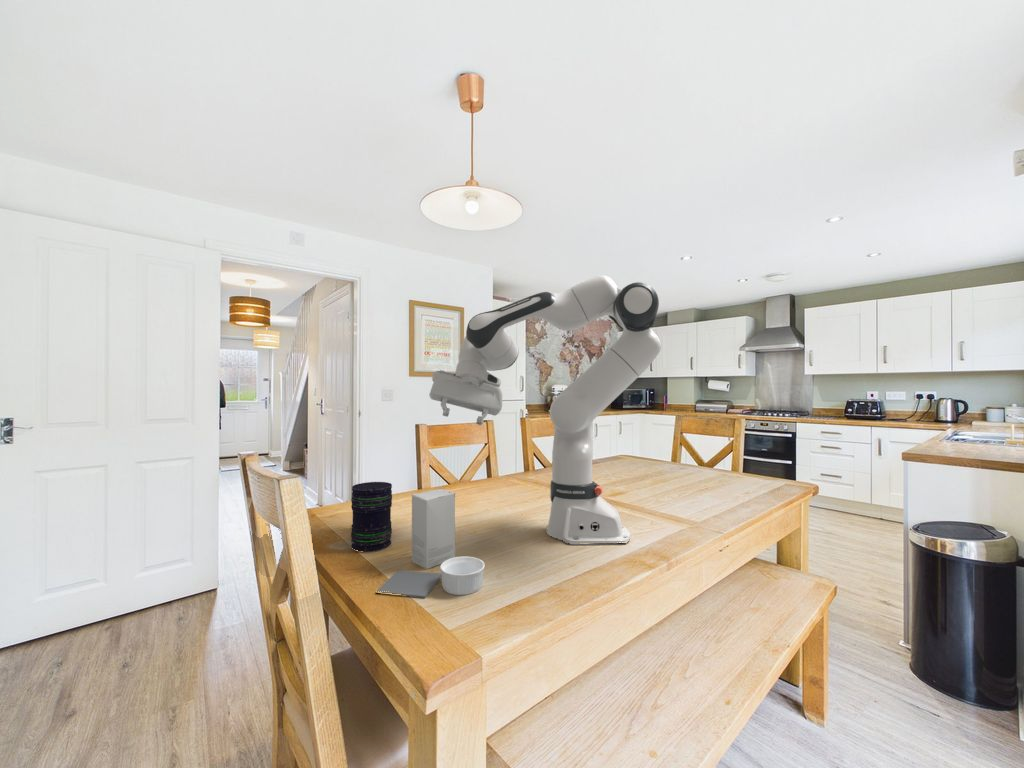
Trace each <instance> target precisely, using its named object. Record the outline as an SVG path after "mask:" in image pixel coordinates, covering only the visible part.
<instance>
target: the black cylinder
mask: <svg viewBox="0 0 1024 768" xmlns="http://www.w3.org/2000/svg"><path fill="white" fill-rule="evenodd" d="M392 488H393V485H392V483H391V482H385V481H369V482H361V483H356V484H354V485H352V486H351V491H352V492H351V499H350V500H351V507H350V508H351V510H352V524H351V531H350V538H351V539H350V540H351V541H350V542H351V545H350V548H351V547H352V548H353V549H355V550H358V551H363V552H362V553H372V552H373V551H374V552H378V550H379V551H382V549H383V550H385V549H387V548H389V547H390V546H391V545H392V539H391V538H392V533H393V528H392V520H391V519H392V518H391V516H392V515H391V513H392V511H391V509H392V507H393V506H392V504H393V502H392V500H393V494H392V493H393V491H392ZM352 548H351V549H352Z"/></svg>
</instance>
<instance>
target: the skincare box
mask: <svg viewBox="0 0 1024 768" xmlns="http://www.w3.org/2000/svg"><path fill="white" fill-rule="evenodd" d="M454 557H456V492H453V491H450V490H446V489H444V488H437V489H431V490H427V491H422V492H418V493H413V494H411V562H412V563H414V564H416V565H418V566H420V567H421V568H423V569H425V570H429V569H431V568H435V567H437V566H441V564H442V563H443V562H444V561H446V560H448V559H451V558H454Z"/></svg>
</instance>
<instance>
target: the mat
mask: <svg viewBox="0 0 1024 768" xmlns="http://www.w3.org/2000/svg"><path fill="white" fill-rule="evenodd" d="M441 579H442V575H441V572H425V571H415V570H414V571H412V570H401V569H399V570H396V572H395V573H393V574H392V575H391V576H390V577H389V578H388V579H387V580H386V581H385V582H384V583H383V584H382V585H381V586H380V587H379V588H378V589H377V590H376V591H377V592H378V591H379V592H380V591H381V592H382V591H383V592H382V593H392V594H401V595H406V596H410V597H409V598H419V599H426V598H427V596H428V595H429V594H430V592H431V591H432V590H433V589H434V587H435V586H436V585H437V583H438V582H439V581H440V580H441ZM384 591H385V592H384ZM386 591H387V592H386ZM388 591H389V592H388Z"/></svg>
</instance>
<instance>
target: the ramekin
mask: <svg viewBox="0 0 1024 768" xmlns="http://www.w3.org/2000/svg"><path fill="white" fill-rule="evenodd" d="M485 565H486V564H485V562H484V560H482V559H480V558H478V557H474V556H467V555H465V556H455V557H454V558H451V559H448V560H446V561H444V562H443V563H442V564H440V565H439V571H440V573H441V575H442V577H441V585H442V588H443V590H444V591H445V592H446V593H447V594H450V595H454V596H467V595H470V594H474V593H476V592H478V591H479V590H480V589H481V588H482V586H483V582H484V571H485V568H486V567H485Z"/></svg>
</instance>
